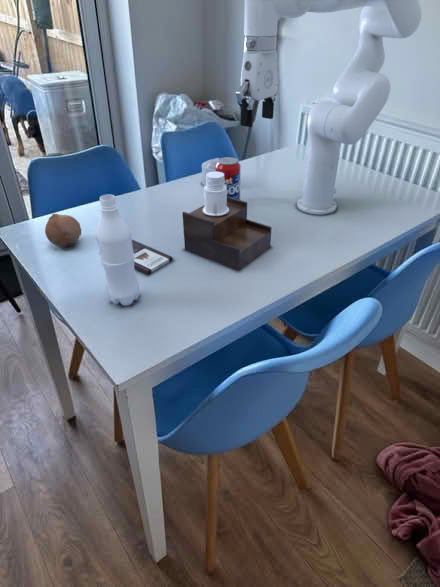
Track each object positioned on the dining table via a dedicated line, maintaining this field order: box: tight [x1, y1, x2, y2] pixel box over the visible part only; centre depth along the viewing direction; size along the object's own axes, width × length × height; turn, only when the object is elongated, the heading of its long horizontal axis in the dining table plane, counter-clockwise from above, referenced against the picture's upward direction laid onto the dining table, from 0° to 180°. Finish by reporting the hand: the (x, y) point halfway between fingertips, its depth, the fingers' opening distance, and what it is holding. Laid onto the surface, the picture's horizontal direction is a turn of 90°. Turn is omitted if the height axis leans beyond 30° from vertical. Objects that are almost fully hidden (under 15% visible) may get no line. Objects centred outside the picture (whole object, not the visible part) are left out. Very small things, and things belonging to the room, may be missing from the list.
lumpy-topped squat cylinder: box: [201, 157, 221, 187], centre depth 152 cm, size 10×13×9 cm
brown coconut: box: [44, 213, 82, 248], centre depth 117 cm, size 10×9×10 cm
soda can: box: [215, 156, 242, 200], centre depth 135 cm, size 8×8×15 cm
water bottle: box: [95, 193, 140, 307], centre depth 91 cm, size 7×7×25 cm
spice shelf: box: [181, 197, 273, 272], centre depth 113 cm, size 15×18×11 cm
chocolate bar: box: [132, 239, 173, 276], centre depth 113 cm, size 9×1×18 cm
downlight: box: [203, 171, 229, 216], centre depth 110 cm, size 8×7×10 cm
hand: (257, 122), depth 108 cm, fingers open, 9 cm apart
